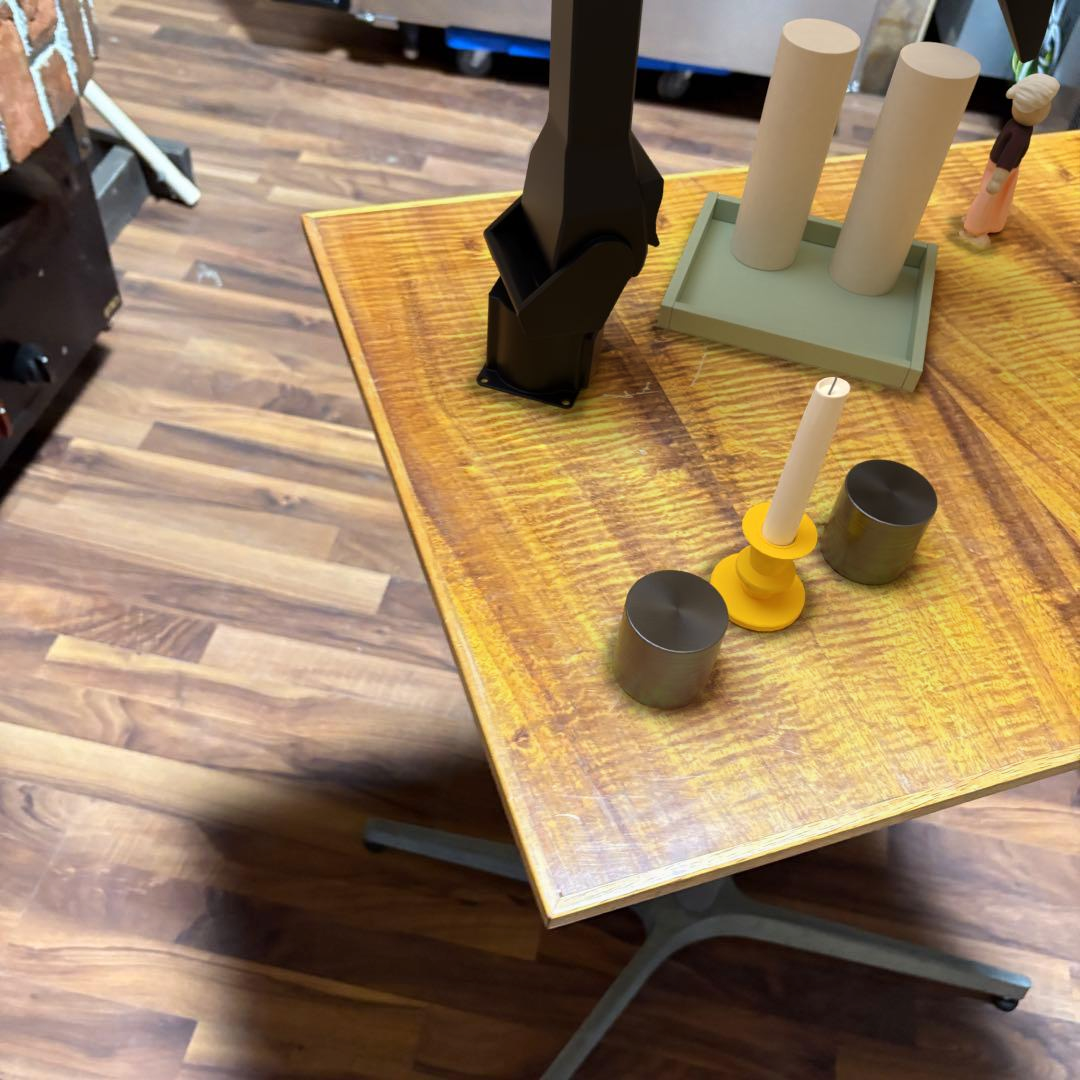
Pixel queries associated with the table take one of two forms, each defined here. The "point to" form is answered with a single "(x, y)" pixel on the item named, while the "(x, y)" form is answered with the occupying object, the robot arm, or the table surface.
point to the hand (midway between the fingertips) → (1070, 95)
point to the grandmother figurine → (1008, 157)
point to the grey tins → (701, 613)
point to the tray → (800, 303)
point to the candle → (782, 525)
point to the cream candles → (890, 164)
